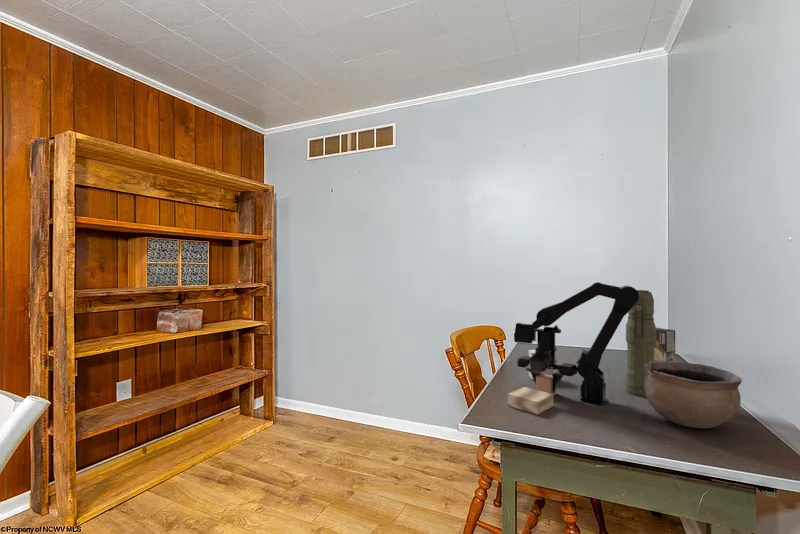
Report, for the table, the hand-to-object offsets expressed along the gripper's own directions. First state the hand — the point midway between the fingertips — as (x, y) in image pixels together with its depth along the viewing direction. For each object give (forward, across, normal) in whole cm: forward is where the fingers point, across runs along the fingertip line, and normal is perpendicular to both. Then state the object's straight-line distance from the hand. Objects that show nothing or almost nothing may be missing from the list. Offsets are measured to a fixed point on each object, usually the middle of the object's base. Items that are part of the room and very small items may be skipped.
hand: (546, 390), depth 133 cm
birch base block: (+1, +1, -14) cm, 14 cm away
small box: (+1, -9, +16) cm, 18 cm away
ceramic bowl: (+1, +39, +4) cm, 39 cm away
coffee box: (+1, +21, +68) cm, 71 cm away
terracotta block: (+1, 0, 0) cm, 1 cm away
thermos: (+1, +23, +23) cm, 33 cm away
